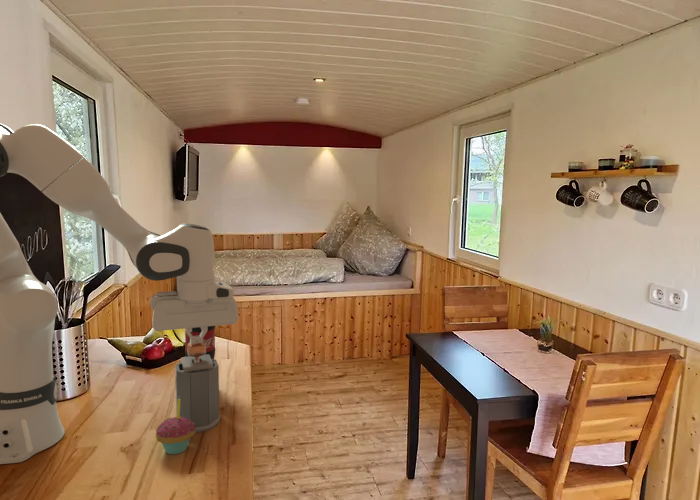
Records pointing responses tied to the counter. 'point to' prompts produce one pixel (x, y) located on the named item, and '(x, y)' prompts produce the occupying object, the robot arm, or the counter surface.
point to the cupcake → (175, 432)
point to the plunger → (196, 351)
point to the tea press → (198, 391)
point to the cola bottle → (208, 339)
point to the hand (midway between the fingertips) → (196, 343)
